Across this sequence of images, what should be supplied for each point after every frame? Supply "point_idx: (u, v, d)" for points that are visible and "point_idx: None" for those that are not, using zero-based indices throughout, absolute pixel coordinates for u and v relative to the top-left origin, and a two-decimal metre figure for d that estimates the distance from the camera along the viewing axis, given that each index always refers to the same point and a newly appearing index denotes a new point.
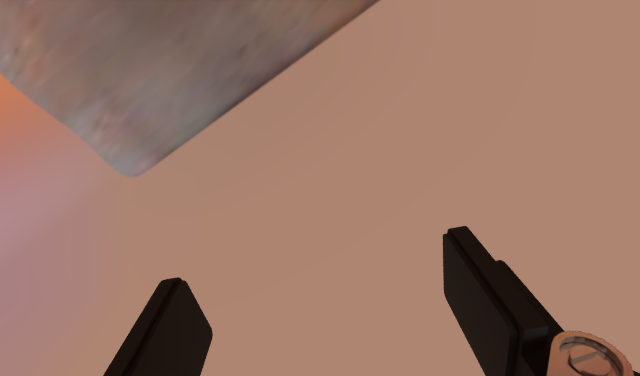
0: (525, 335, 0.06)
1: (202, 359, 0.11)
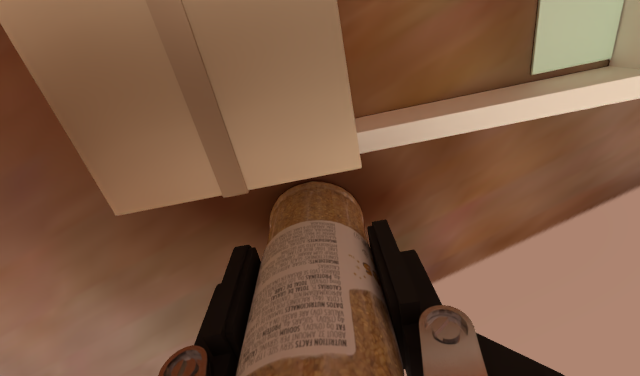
0: (401, 309, 0.08)
1: None
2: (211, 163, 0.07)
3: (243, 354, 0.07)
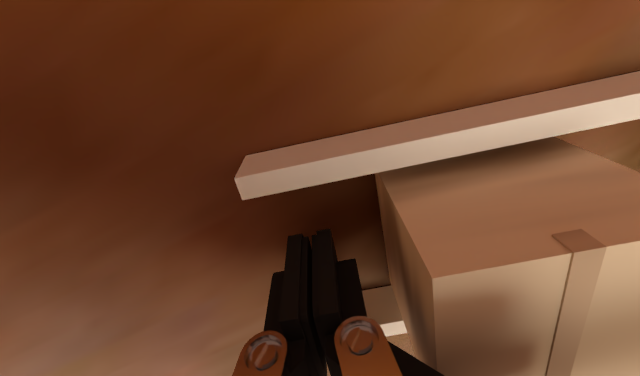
0: (321, 319, 0.08)
1: None
2: None
3: None
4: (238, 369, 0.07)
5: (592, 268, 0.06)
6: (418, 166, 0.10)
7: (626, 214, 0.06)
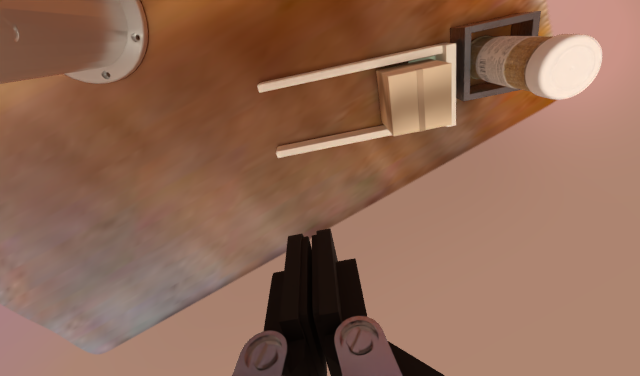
0: (321, 319, 0.08)
1: None
2: (419, 123, 0.31)
3: (505, 50, 0.27)
4: (238, 369, 0.07)
5: (421, 75, 0.29)
6: (390, 68, 0.33)
7: (431, 65, 0.29)
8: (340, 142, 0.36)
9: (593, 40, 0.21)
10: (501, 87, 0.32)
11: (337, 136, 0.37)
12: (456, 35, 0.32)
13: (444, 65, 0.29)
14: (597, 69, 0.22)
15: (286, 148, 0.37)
